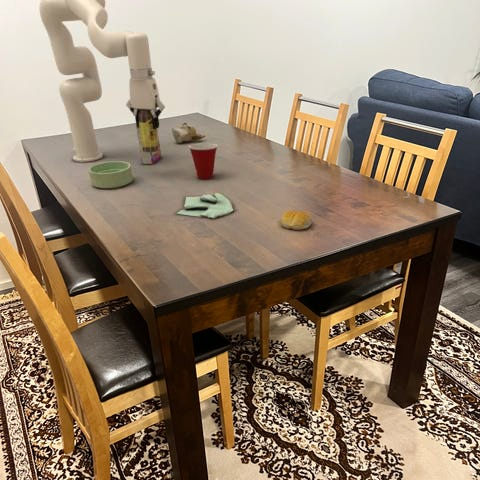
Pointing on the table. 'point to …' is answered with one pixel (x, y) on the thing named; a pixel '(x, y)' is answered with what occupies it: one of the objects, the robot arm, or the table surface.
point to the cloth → (207, 206)
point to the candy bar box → (148, 156)
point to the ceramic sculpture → (186, 133)
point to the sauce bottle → (147, 131)
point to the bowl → (110, 174)
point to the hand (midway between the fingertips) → (148, 127)
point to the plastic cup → (204, 159)
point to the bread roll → (296, 220)
